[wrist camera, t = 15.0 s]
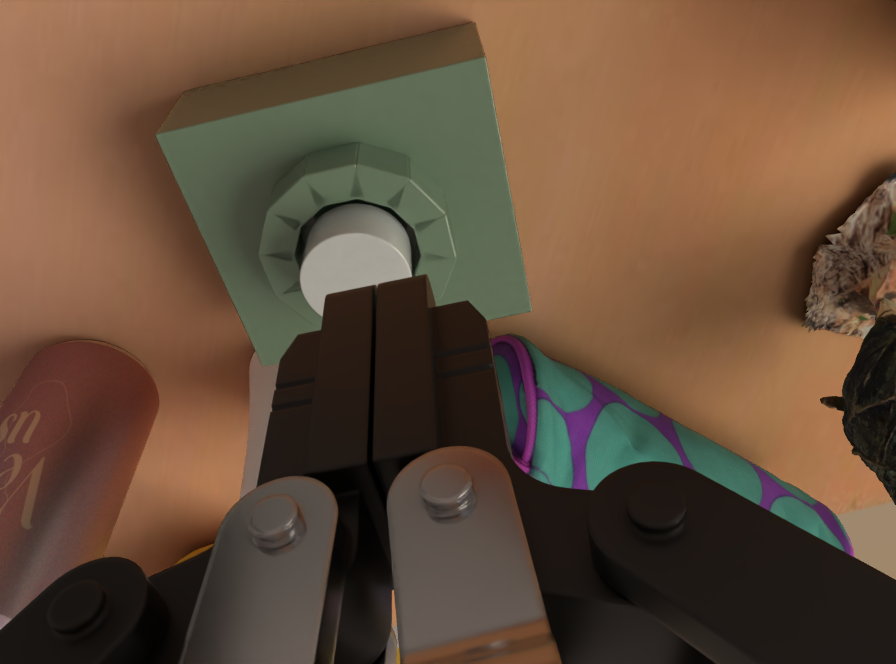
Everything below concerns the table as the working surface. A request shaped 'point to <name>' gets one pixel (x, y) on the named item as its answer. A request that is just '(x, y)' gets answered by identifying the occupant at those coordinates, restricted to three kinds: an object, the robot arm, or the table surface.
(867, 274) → the plant with pod
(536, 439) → the pencil case
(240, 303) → the socket base
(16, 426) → the beverage can
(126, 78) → the table surface
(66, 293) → the table surface
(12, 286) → the table surface
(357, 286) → the white cylinder puck
